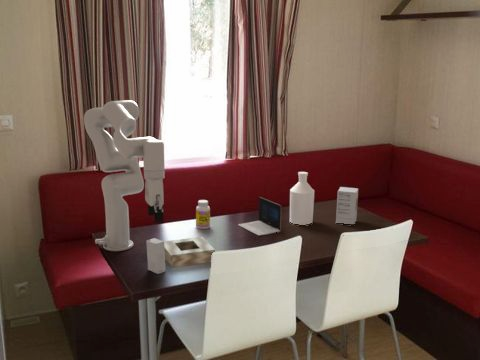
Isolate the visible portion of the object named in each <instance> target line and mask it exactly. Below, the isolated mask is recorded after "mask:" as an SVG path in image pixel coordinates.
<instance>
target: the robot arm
mask: <svg viewBox="0 0 480 360" xmlns="http://www.w3.org/2000/svg"><path fill="white" fill-rule="evenodd" d="M83 115H84V116H83V124H84V128H85V130H86V133H87V135H88V136H89V138H90V140H91V142H92V145H93V148H94V151H95V155H96V159H97V161H98V165H99V168H100V170H101V171H102V172H104V173H111V174H109V175H106V176H105V177H103V178H102V180H101V190H102V194H103V198H104V199H103V200H104V212H105V231H106V234H105V235H104V237H102V238H96V239H95V240H94V241H95V245H96V244H98V245H102V246H103V249H104V250H106V251H110V252H121V251H123V252H124V251H127V250H129V249H132V248H133V247H134V242H133V241H132V240H131V239H130V218H129V216H130V215H129V214H130V213H129V205H128V203H127V201H126V200H125V199H124V198H123V197H125V196H128V195H135V194H140V193H141V192H142V191H143V190H144V189H145V191H144V193H145V194H144V199H145V202H146V203H147V204H148V205H147V215H148V216H149V217H150V216H154V217H153V218H154V223H155V224H157V223H158V224H160V223H164V208H163V205H164V201H165V199H164V183H163V180H164V179H165V177H166V176H165V174H166V173H165V172H166V171H165V170H166V169H165V144H164V142H163V141H162V140H160V139H156V138H155V137H152V136H143V137H142V136H139V137H131V138H128V137H130V136H131V135H132V134H133V133H134V132H135V131H136V128H137V119H138V118H139V116H140V107H139V106H138V104H137V103H136V102H135V101H134V100H129V99H126V100H125V99H124V100H111V101H108V102H106V103H105V104H104V105H103V106H102V107H93V108H90V109H88V110H86V111H85V113H84V114H83ZM104 128H113V130H114V133H113V135H111V134H110V133H109V132H108V131H107V130H105V129H104ZM140 158H143V173H142V171H141V168H140V167H141V166H140V164H139V160H138V159H140ZM121 171H125V172H121ZM113 172H116V173H113ZM117 172H118V173H117ZM119 172H120V173H119ZM144 180H145V182H144Z"/></svg>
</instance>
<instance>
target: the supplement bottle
mask: <svg viewBox="0 0 480 360" xmlns="http://www.w3.org/2000/svg"><path fill="white" fill-rule="evenodd" d="M197 204H198V205H196V208H195V227H196V229H200V230H205V229H209V228H210V227H211V208H210V206H209V200H206V199H199V200H198V201H197Z"/></svg>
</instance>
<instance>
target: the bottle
mask: <svg viewBox="0 0 480 360" xmlns="http://www.w3.org/2000/svg"><path fill="white" fill-rule="evenodd" d="M297 175H298V182H297V183H296V184H294V185H293V186H292V187H291V188H290V189H289V223H290V222H291V223H293V224H292V225H294V224H299V225H306V224H310V223H312V224H313V221H314V218H313V217H314V204H315V189H313V188H312V186H311V185H310V184H309V183H308V180H307V179H308V176H309V172H306V171H298V172H297ZM291 223H290V224H291ZM299 225H298V226H299ZM306 226H307V225H306Z"/></svg>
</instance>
